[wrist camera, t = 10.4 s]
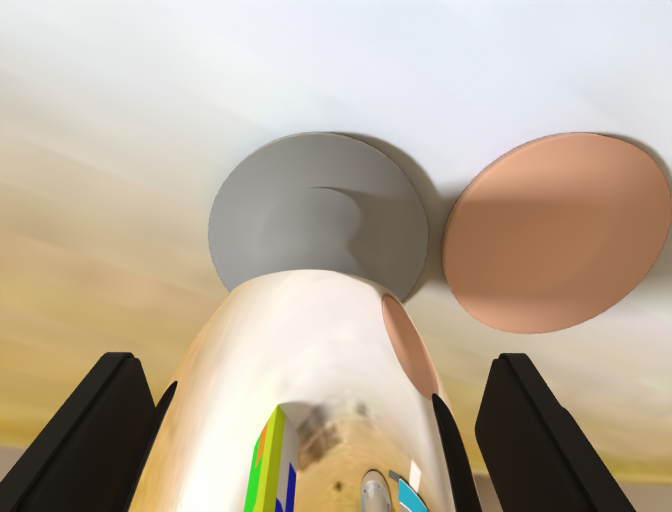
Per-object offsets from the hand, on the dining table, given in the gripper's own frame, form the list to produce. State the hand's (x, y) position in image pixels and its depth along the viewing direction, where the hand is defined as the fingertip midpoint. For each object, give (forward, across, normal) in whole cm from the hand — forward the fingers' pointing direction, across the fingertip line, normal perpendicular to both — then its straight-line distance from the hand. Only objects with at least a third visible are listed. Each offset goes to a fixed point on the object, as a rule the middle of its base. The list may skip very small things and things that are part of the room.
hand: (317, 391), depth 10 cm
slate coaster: (+10, 0, 0) cm, 10 cm away
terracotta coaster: (+10, -12, 0) cm, 16 cm away
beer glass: (+10, 0, 0) cm, 10 cm away
